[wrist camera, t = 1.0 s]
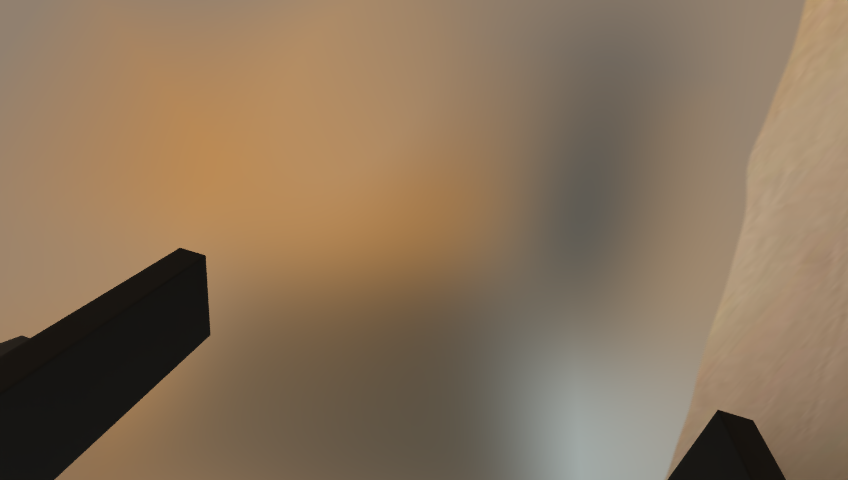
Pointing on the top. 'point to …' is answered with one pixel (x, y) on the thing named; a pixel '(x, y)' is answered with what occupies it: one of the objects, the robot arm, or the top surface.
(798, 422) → the top surface
